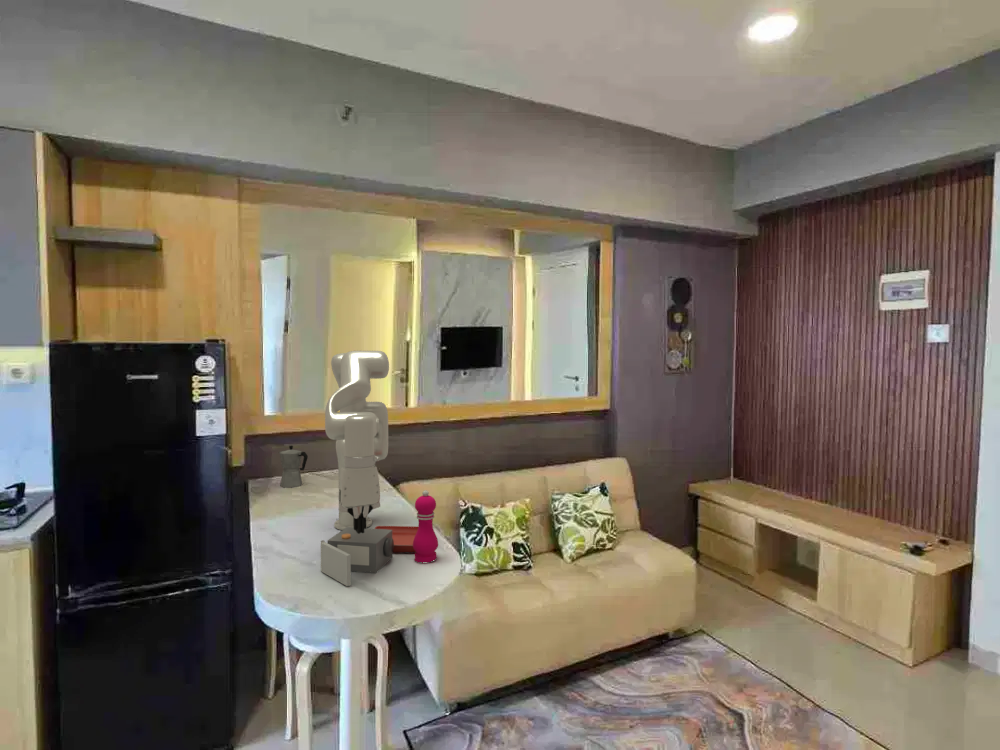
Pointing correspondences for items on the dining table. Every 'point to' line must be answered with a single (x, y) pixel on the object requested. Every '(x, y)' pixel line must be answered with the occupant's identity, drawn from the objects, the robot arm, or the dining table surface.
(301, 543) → the dining table surface
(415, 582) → the dining table surface
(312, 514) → the dining table surface
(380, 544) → the camera case
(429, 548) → the pepper mill
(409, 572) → the dining table surface
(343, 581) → the side door
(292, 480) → the coffeepot
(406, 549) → the plant saucer
